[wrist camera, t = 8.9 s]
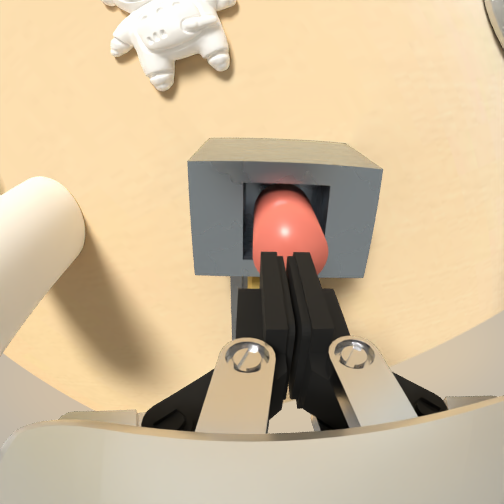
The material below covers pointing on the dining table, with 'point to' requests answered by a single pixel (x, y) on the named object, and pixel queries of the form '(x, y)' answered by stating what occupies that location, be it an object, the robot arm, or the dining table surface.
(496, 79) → the dining table surface
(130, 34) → the astronaut figurine
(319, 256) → the button
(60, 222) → the cup
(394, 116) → the dining table surface
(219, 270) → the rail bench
